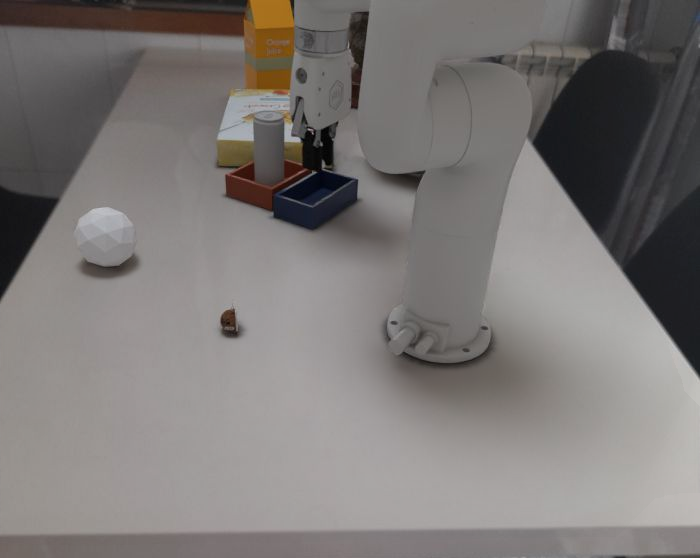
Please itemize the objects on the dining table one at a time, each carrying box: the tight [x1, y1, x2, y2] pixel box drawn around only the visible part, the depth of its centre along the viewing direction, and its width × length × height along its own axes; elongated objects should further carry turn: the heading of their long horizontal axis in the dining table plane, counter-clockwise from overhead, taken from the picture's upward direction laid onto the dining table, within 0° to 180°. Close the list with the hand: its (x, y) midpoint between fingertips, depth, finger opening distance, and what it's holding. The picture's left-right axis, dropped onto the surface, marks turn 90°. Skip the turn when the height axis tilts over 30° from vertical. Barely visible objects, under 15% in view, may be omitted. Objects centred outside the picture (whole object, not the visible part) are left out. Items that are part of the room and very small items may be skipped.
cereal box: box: [215, 88, 333, 169], centre depth 135 cm, size 20×6×28 cm
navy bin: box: [272, 168, 359, 230], centre depth 113 cm, size 13×7×4 cm, turn 149°
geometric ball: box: [73, 206, 138, 268], centre depth 95 cm, size 8×8×8 cm
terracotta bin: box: [224, 159, 313, 212], centre depth 117 cm, size 11×9×4 cm
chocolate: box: [219, 299, 239, 334], centre depth 85 cm, size 3×2×4 cm
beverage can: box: [253, 110, 285, 187], centre depth 114 cm, size 5×5×12 cm
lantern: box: [348, 11, 369, 110], centre depth 152 cm, size 19×19×30 cm
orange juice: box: [243, 0, 296, 90], centre depth 153 cm, size 8×9×20 cm
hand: (317, 165), depth 110 cm, fingers closed
